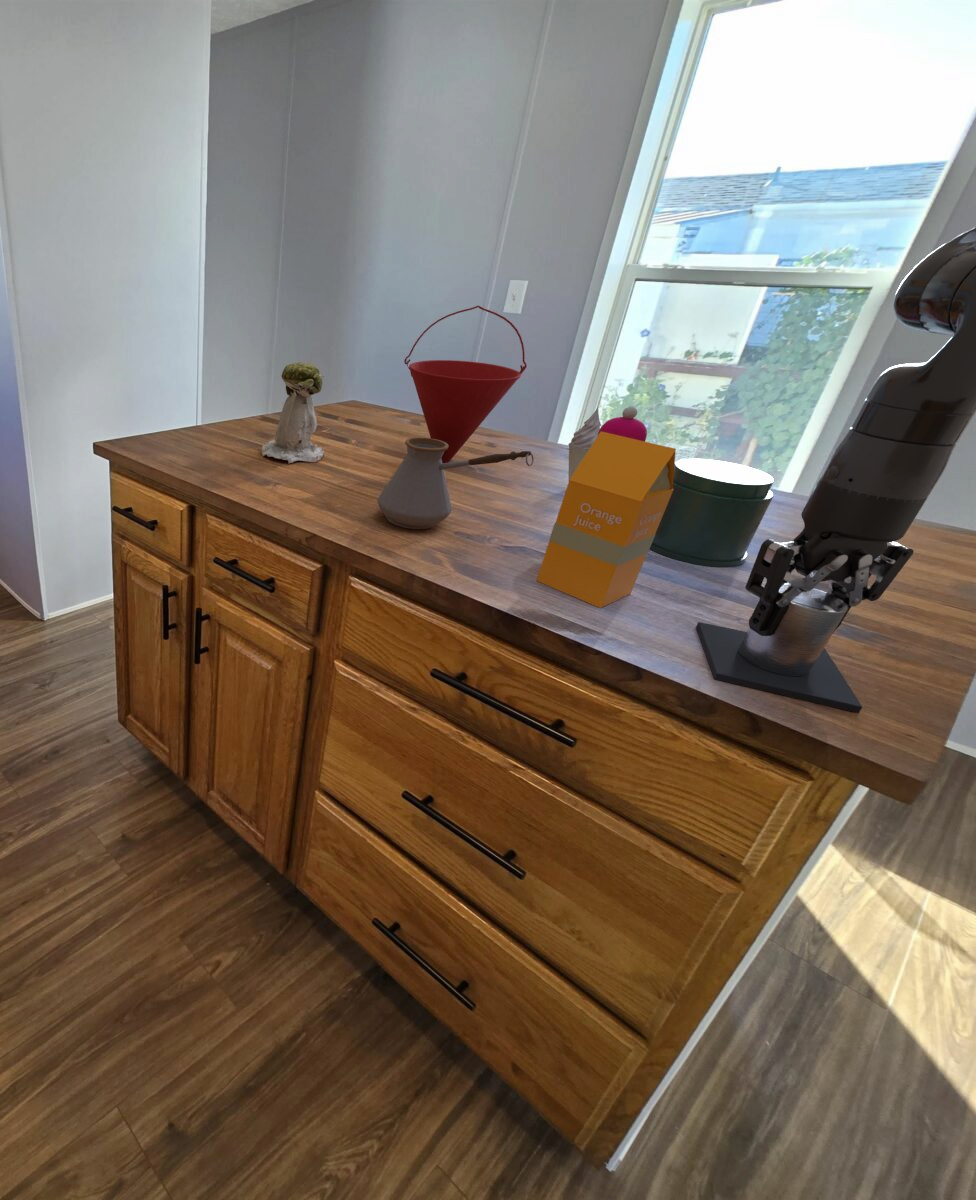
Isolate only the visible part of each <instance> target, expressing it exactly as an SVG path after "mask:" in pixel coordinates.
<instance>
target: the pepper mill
mask: <svg viewBox="0 0 976 1200" xmlns="http://www.w3.org/2000/svg"><path fill="white" fill-rule="evenodd" d="M637 415H638V409H637V408H636V407H635V406H627V407H625V408H624V409H623V411H622V416H617V417H612V418H610V419H609V420H607V421H605V422H604V423H603V424H601V426H600V430H599V432H598V435H599V434H600V432H606V433H610V434H614V435H619V436H623V437H627V438H631V439H636V440H640V441H644V442H646V440H647V436H648V431H647V426H645V424H644V423H643V422H642V421H641V420H639V419H638V418H636V417H637ZM597 437H598V436H597Z"/></svg>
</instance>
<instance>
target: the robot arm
mask: <svg viewBox="0 0 976 1200" xmlns="http://www.w3.org/2000/svg"><path fill="white" fill-rule="evenodd" d="M892 305H893V307H892V308H893V313H894V317H895V318H896V319H897V321H899V323H900V324H902V325H903V326H904V327H906V328H909V329H912V330H915V331H918V332H923V333H929V334H938V335H944V336H950V339H949V340H948V341H947V342H946V343H945V344H944V345H943V346H942V347H941V348H940V349H939V350H938V351H936V353H935V354H934V355H933V356H932V357H931V358H930V359H929V360H928V361H926V362H913V363H903V364H898V365H894V366H891V367H888V368H887V369H886V370H884V371H883V372H882V373H881V374H880V375H879V376H878V377H877V378H876V380H875V381H874V383H873V384H872V386H871V388H870V390H869V392H868V393H867V395H866V397H865V400H864V401H863V403H862V405H861V407H860V408H859V411H858V412H857V414H856V416H855V418H854V420H853V422H852V424H851V426H850V427H849V429H848V431H847V432H846V434H845V435H844V436H843V438H842V439H841V441H840V442H839V443H838V445H837V446H836V447H835V449H834V451H833V453H832V454H831V456H830V458H829V460H828V461H827V464H826V465H825V468H824V469H823V471H822V473H821V475H820V477H819V478H818V481H817V483H816V484H815V486H814V488H813V490H812V492H811V494H810V496H809V498H808V500H807V502H806V503H805V506H804V508H803V509H802V511H801V518H802V520H803V526H804V527H803V529H802V530H801V531H800V533H798V535H797V536H795V537H794V538H793V540H792V541H787V542H778V541H775V540H774V539H772V538H768V539H766V540H764V541H763V542H762V544H761V545H760V548H759V550H758V553H757V556H756V558H755V560H754V564H753V566H752V568H751V570H750V571H751V572H750V573H749V576H748V579H747V581H746V585H745V587H744V588H745V590H746V591H747V592H749V593H751V594H752V595H753V596H756V597H757V598H759V600H758V603H757V604H756V606H755V608H754V609H753V612H752V613H751V616H750V618H749V619H748V628H749V627H750V629H752V630H753V631H755V632H756V633H758V634H759V635H761V636H771V635H772V634H773V633H774V631H775V629H776V627H777V625H778V624H779V622H780V620H781V618H782V616H783V615H784V613H785V611H786V609H787V607H786V606H787V605H788V604H789V603H790V602H791V601H792V600H794V599H795V598H796V597H797V596H798V595H799V594H800V593H801V592H808V591H810V590H812V589H813V588H815V587H817V586H818V585H819V584H820V583H822V582H827V593H829V594H831V595H833V596H835V597H837V598H839V599H841V600H842V601H843V602H845V603H846V604H847V606H848V610H847V611H846V613H845V615H844V616H843V618H842V619H841V621H840V623H839V624H838V626H837V628H836V629H835V631H834V633H835V632H836V630H837V629H839V627H841V624H842V622H843V621H844V620H845V618H846V616H847V615H848V613H849V612H850V610H851V608H852V607H857V606H858V605H860V604H861V602H862V601H865V600H868V601H870V602H875V601H878V600H879V599H880V598H881V597H882V595H883V594H884V593H885V591H886V590H887V589H888V587H889V586H890V585H891V584H892V582H893V581H894V580H895V579H896V577H897V576H898V574H899V573H900V572H901V570H903V568H904V566H905V565H906V564H907V563H908V561H909V560H910V558H911V557H912V556H913V554H914V549H912V548H910V547H908V546H906V545H904V544H902V543H900V542H897V541H900V540H901V539H903V538H904V536H905V535H906V533H907V532H908V531H909V528H910V527H911V525H912V524H913V522H914V521H915V519H916V517H917V516H918V514H919V513H920V511H921V509H922V508H923V506H924V504H925V503H926V501H927V499H929V497H930V495H931V493H932V492H933V490H934V488H935V487H936V485H937V484H938V482H939V480H940V479H941V477H942V475H943V474H944V472H945V470H946V468H947V466H948V464H949V461H950V458H951V456H952V454H953V451H954V450H955V448H956V446H957V443H958V442H959V440H960V439H961V437H962V436H963V434H964V433H965V431H966V429H967V428H968V426H969V424H970V423H971V421H972V420H973V418H974V416H975V415H976V226H975V227H973V228H971V229H969V230H967V231H964V232H963V233H961V234H959V235H957V236H956V237H954V238H952V239H950V240H949V241H947V242H945V243H944V244H942V245H941V246H939V247H938V248H936V249H935V250H933V251H932V252H930V253H929V254H928V255H926V256H925V258H923V259H922V260H921V261H919V263H917V264H916V265H915V266H914V267H913V269H912V270H910V272H909V273H908V274H907V275H906V276H905V277H904V279H903V280H902V281H901V283H900V285H899V287H898V288H897V290H896V292H895V295H894V298H893V303H892ZM794 570H795V571H796V572H797V574H799V575H801V576H803V577H802V578H798V577H797V576H795V575H793V574H792V573H793V571H794ZM871 576H874V577H876V579H875V580H874V581H873V583H872V584H871V586H870V585H869V579H870V578H871ZM764 580H766V581H765V584H763V582H764ZM785 583H789V584H790V586H789V587H788V588H787V589H786V590H785V591H784V592H783V593H780V592H779V589H780V587H781V586H782V585H784V584H785Z"/></svg>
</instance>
